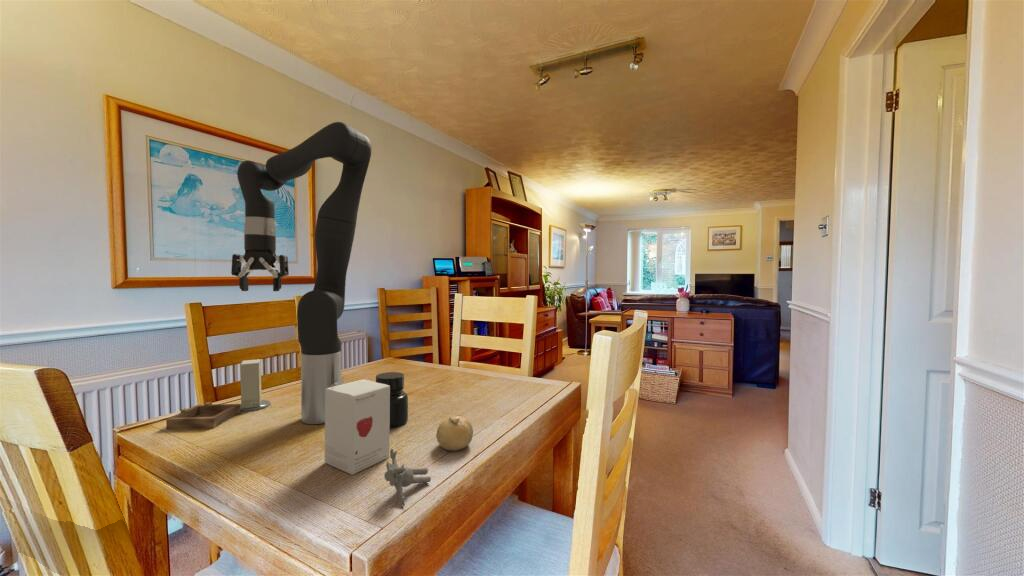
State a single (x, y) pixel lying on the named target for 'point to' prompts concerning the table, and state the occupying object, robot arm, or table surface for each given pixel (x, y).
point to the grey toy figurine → (403, 476)
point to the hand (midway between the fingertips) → (260, 291)
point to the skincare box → (250, 383)
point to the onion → (454, 433)
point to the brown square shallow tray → (190, 420)
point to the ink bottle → (395, 397)
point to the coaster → (263, 405)
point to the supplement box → (357, 425)
